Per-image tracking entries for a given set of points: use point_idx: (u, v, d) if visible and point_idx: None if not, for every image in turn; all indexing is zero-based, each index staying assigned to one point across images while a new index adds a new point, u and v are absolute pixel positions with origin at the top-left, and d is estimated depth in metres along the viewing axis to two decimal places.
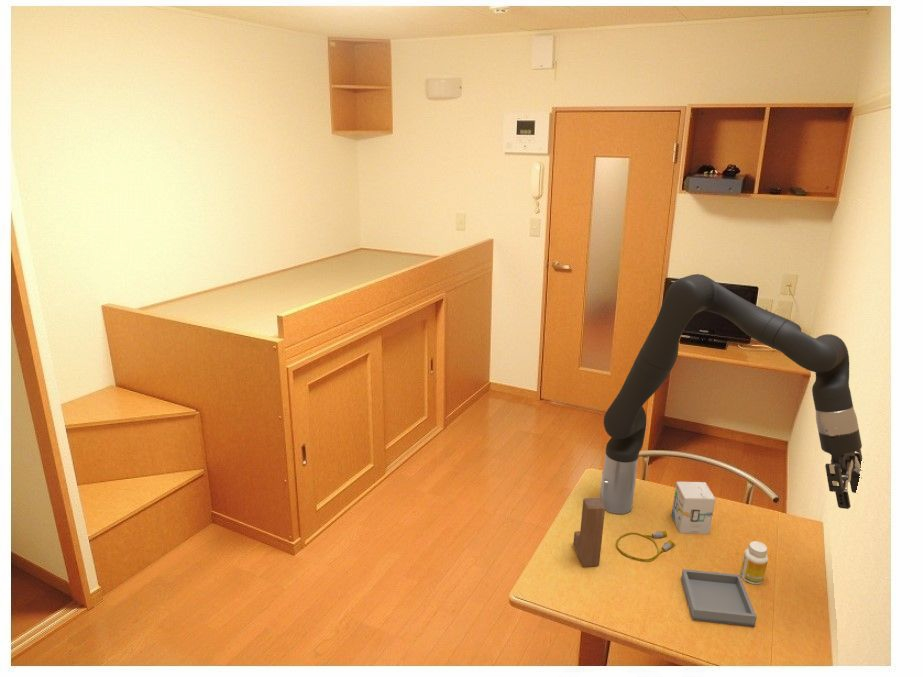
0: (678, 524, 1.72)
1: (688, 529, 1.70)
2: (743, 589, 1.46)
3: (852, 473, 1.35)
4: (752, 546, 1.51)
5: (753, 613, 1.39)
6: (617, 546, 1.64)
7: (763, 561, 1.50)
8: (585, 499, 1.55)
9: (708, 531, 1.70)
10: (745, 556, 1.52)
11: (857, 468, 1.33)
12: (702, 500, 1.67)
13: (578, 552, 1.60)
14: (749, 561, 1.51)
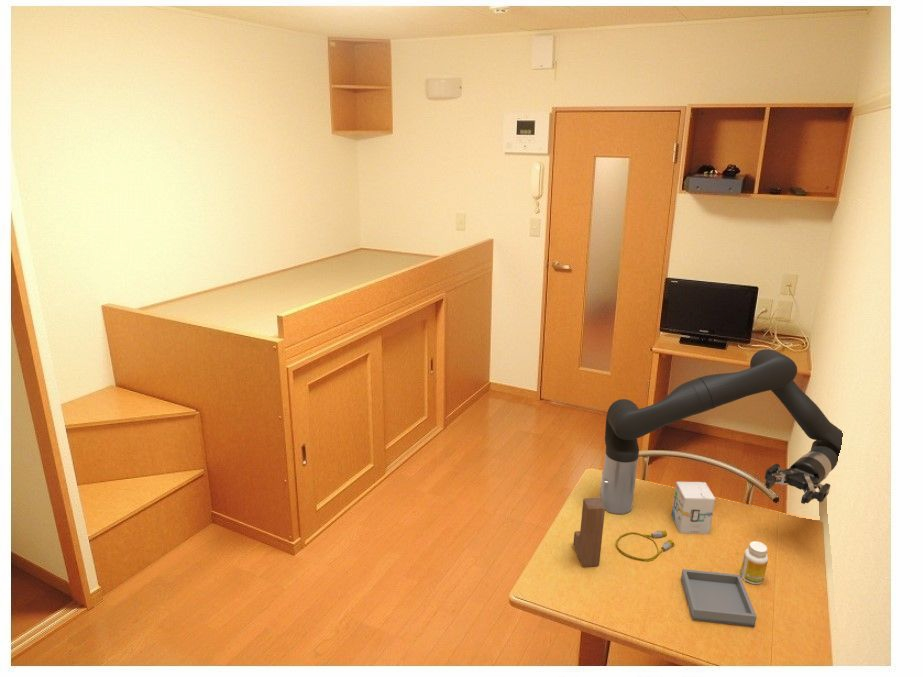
0: (678, 524, 1.72)
1: (688, 529, 1.70)
2: (743, 589, 1.46)
3: None
4: (752, 546, 1.51)
5: (753, 613, 1.39)
6: (617, 546, 1.64)
7: (763, 561, 1.50)
8: (585, 499, 1.55)
9: (708, 531, 1.70)
10: (745, 556, 1.52)
11: (784, 484, 1.61)
12: (702, 500, 1.67)
13: (578, 552, 1.60)
14: (749, 561, 1.51)
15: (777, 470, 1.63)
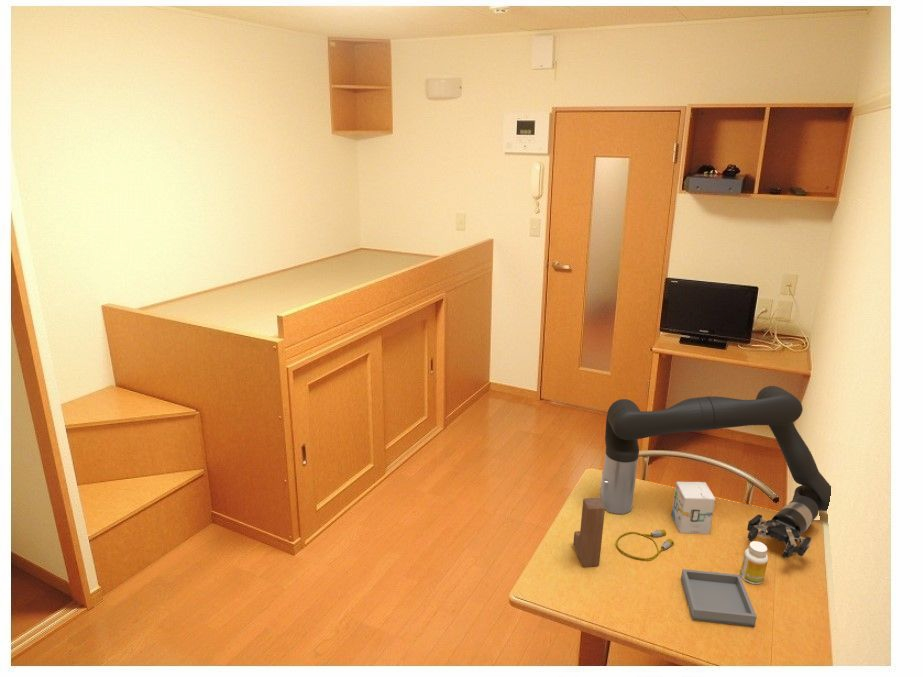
0: (678, 524, 1.72)
1: (688, 529, 1.70)
2: (743, 589, 1.46)
3: None
4: (752, 546, 1.51)
5: (753, 613, 1.39)
6: (617, 546, 1.64)
7: (763, 561, 1.50)
8: (585, 499, 1.55)
9: (708, 531, 1.70)
10: (745, 556, 1.52)
11: (766, 535, 1.63)
12: (702, 500, 1.67)
13: (578, 552, 1.60)
14: (749, 561, 1.51)
15: (759, 521, 1.66)
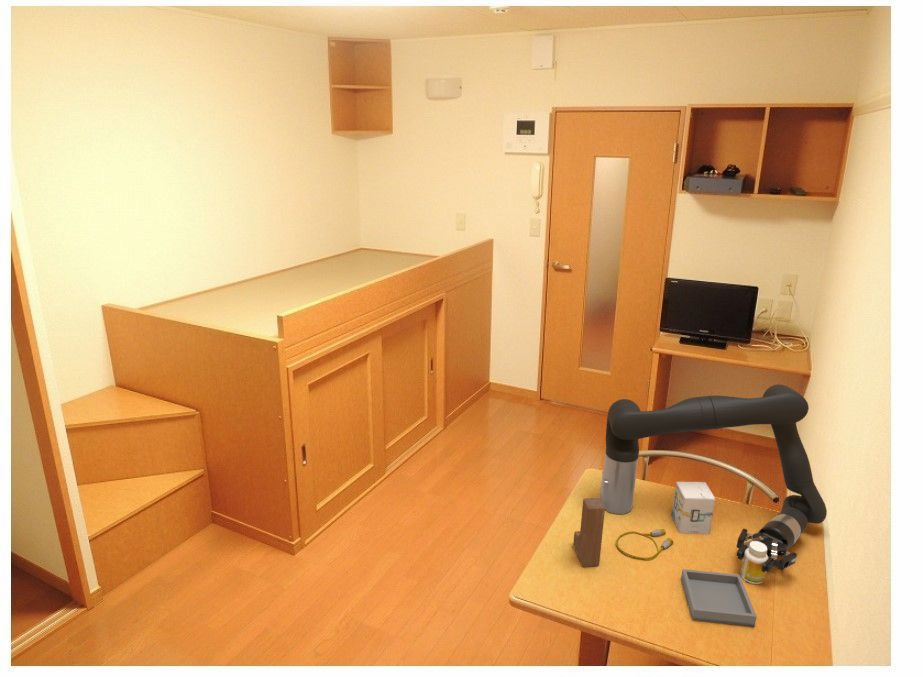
0: (678, 524, 1.72)
1: (688, 529, 1.70)
2: (743, 589, 1.46)
3: (748, 547, 1.56)
4: (752, 546, 1.51)
5: (753, 613, 1.39)
6: (617, 546, 1.64)
7: (763, 561, 1.50)
8: (585, 499, 1.55)
9: (708, 531, 1.70)
10: (745, 556, 1.52)
11: None
12: (702, 500, 1.67)
13: (578, 552, 1.60)
14: (749, 561, 1.51)
15: (746, 536, 1.59)
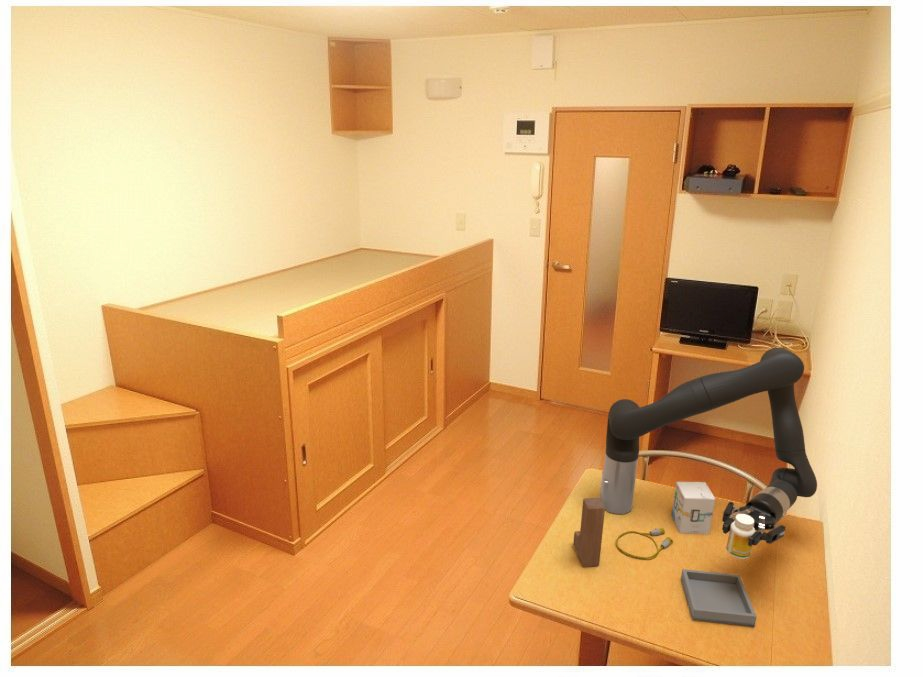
0: (678, 524, 1.72)
1: (688, 529, 1.70)
2: (743, 589, 1.46)
3: None
4: (738, 519, 1.42)
5: (753, 613, 1.39)
6: (617, 545, 1.64)
7: (749, 534, 1.41)
8: (585, 499, 1.55)
9: (708, 531, 1.70)
10: (731, 529, 1.44)
11: None
12: (702, 500, 1.67)
13: (578, 552, 1.60)
14: (735, 534, 1.42)
15: (732, 509, 1.51)
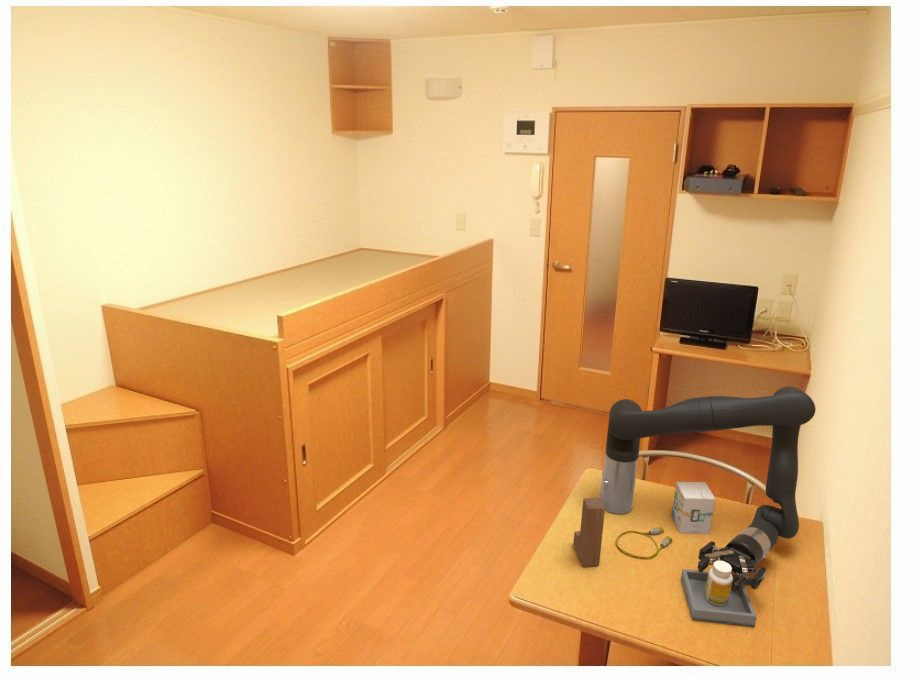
0: (678, 524, 1.72)
1: (688, 529, 1.70)
2: (743, 589, 1.46)
3: (709, 559, 1.48)
4: (716, 566, 1.43)
5: (753, 613, 1.39)
6: (617, 545, 1.64)
7: (727, 582, 1.42)
8: (585, 499, 1.55)
9: (708, 531, 1.70)
10: (709, 576, 1.44)
11: None
12: (702, 500, 1.67)
13: (578, 552, 1.60)
14: (712, 581, 1.43)
15: (712, 549, 1.52)
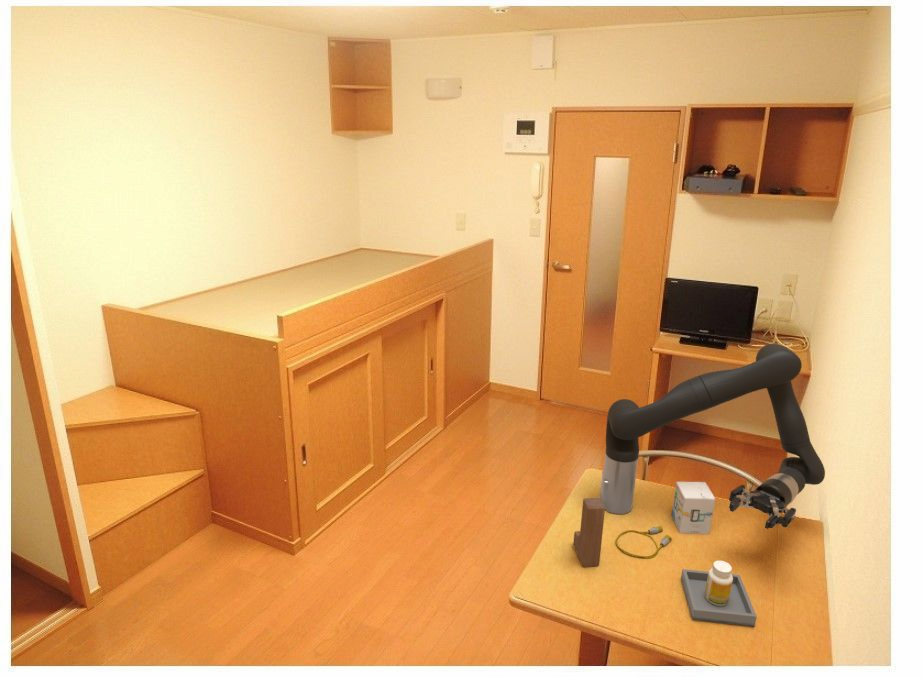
0: (678, 524, 1.72)
1: (688, 529, 1.70)
2: (743, 589, 1.46)
3: (740, 500, 1.53)
4: (716, 566, 1.43)
5: (753, 613, 1.39)
6: None
7: (727, 582, 1.42)
8: (585, 499, 1.55)
9: (708, 531, 1.70)
10: (709, 576, 1.44)
11: (749, 506, 1.53)
12: (702, 500, 1.67)
13: (578, 552, 1.60)
14: (712, 581, 1.43)
15: (742, 492, 1.56)
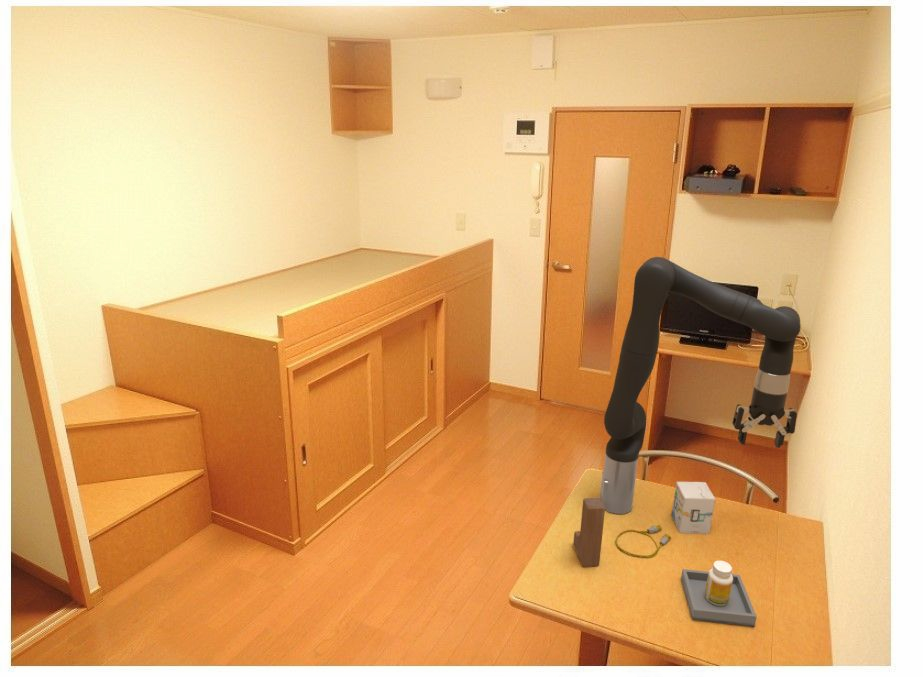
0: (678, 524, 1.72)
1: (688, 529, 1.70)
2: (743, 589, 1.46)
3: None
4: (716, 566, 1.43)
5: (753, 613, 1.39)
6: None
7: (727, 582, 1.42)
8: (585, 499, 1.55)
9: (708, 531, 1.70)
10: (709, 576, 1.44)
11: None
12: (702, 500, 1.67)
13: (578, 552, 1.60)
14: (712, 581, 1.43)
15: (743, 414, 1.55)
